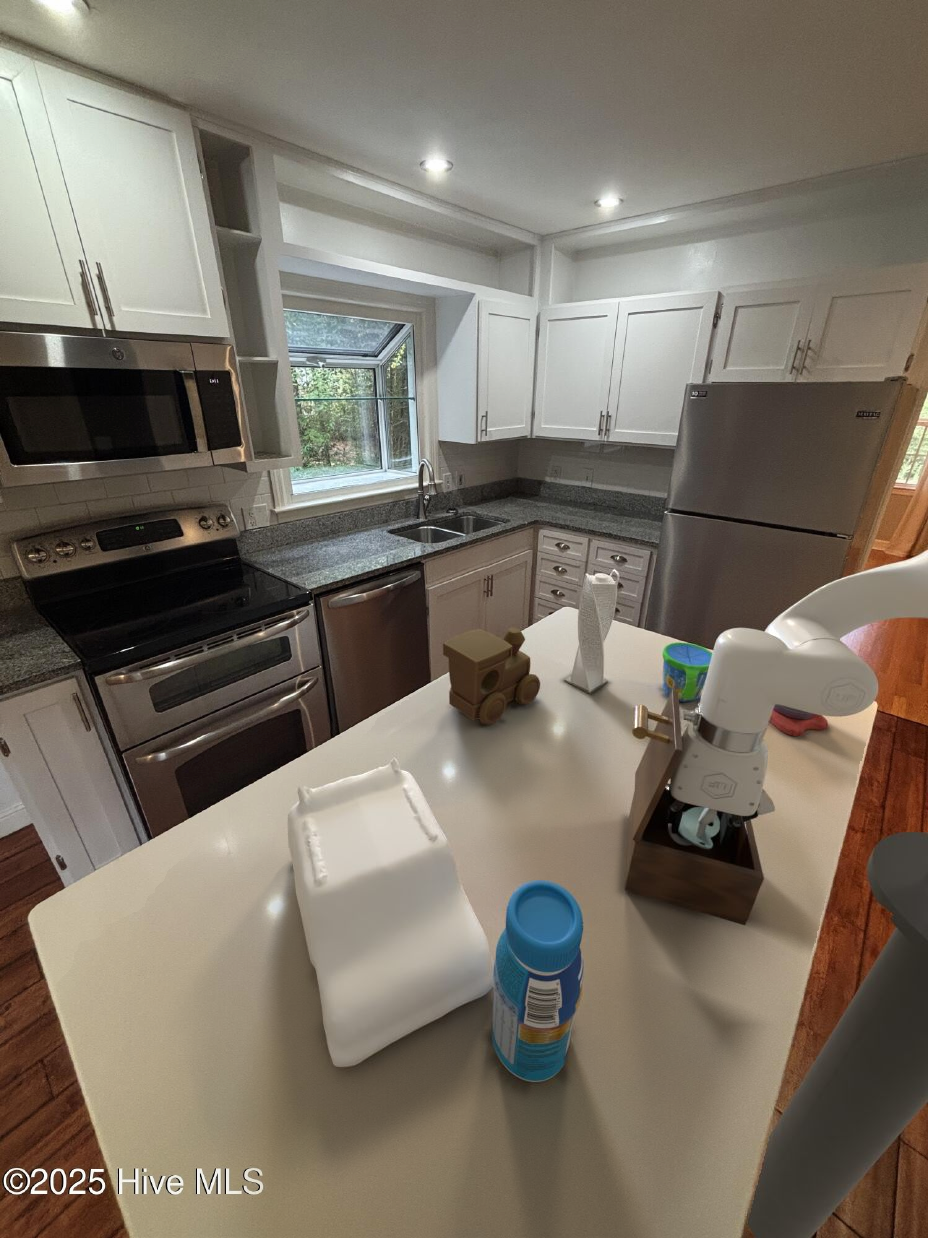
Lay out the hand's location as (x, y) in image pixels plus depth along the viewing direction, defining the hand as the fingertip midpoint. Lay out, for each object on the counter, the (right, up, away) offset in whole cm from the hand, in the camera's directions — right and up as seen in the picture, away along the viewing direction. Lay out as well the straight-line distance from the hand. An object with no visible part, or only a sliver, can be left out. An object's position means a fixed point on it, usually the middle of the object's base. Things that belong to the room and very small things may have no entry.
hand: (697, 831), depth 69 cm
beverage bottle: (-25, -15, -16) cm, 33 cm away
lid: (-7, +10, -4) cm, 13 cm away
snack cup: (+16, +13, +42) cm, 46 cm away
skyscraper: (-4, +14, +45) cm, 47 cm away
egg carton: (-43, -9, -4) cm, 44 cm away
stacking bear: (+35, +9, +34) cm, 50 cm away
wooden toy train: (-26, +11, +37) cm, 47 cm away
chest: (-1, -6, +2) cm, 6 cm away
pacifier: (-1, -1, +1) cm, 1 cm away
